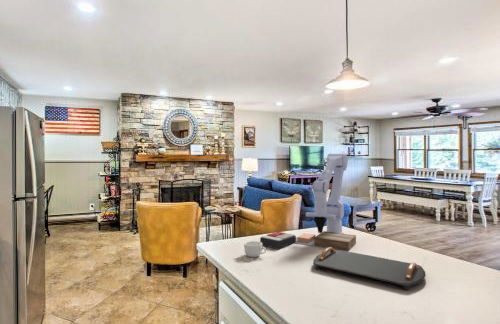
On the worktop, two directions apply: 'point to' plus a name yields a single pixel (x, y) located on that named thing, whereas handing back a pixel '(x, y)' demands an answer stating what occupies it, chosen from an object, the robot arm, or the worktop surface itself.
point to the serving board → (371, 267)
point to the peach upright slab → (306, 238)
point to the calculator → (277, 240)
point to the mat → (304, 242)
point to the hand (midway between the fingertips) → (320, 232)
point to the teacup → (253, 248)
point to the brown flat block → (335, 240)
